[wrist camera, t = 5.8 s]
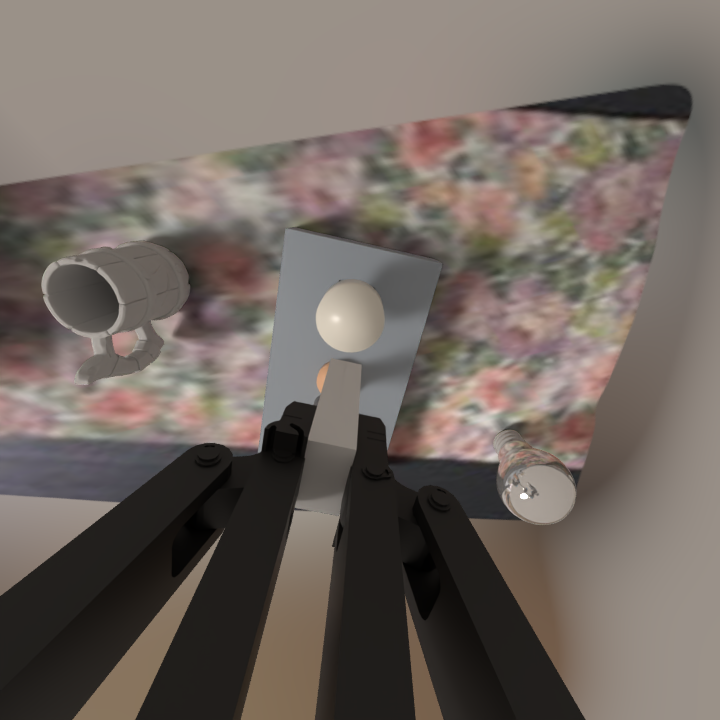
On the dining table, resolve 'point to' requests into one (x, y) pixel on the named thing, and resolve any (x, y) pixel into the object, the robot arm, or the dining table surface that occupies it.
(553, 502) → the light bulb
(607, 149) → the dining table surface
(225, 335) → the dining table surface
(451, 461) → the dining table surface
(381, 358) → the panel
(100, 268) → the mug
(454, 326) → the dining table surface
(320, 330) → the knob
